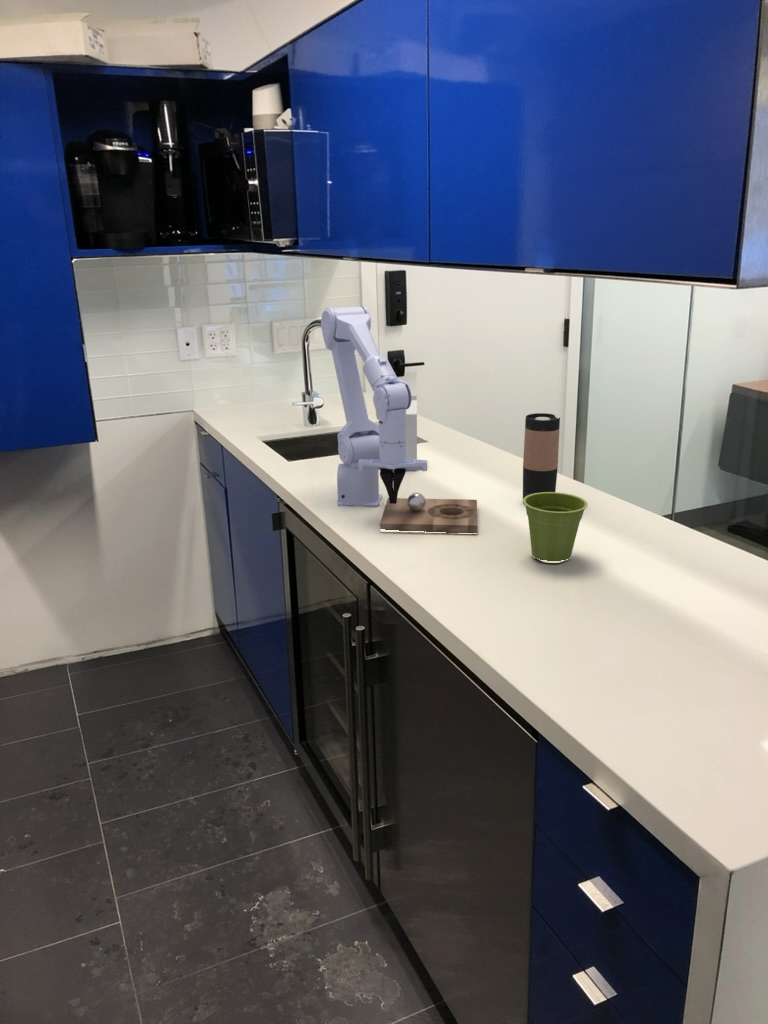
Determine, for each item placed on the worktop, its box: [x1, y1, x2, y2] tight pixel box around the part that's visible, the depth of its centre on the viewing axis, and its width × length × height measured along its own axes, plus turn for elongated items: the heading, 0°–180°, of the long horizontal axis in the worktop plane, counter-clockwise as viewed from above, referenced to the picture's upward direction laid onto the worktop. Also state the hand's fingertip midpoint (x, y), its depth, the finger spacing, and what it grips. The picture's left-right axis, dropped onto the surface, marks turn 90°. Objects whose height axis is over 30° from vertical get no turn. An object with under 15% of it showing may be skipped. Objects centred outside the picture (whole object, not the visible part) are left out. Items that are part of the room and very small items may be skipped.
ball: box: [407, 492, 426, 511], centre depth 178 cm, size 4×4×4 cm
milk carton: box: [393, 395, 418, 472], centre depth 215 cm, size 7×7×19 cm
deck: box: [379, 497, 479, 534], centre depth 179 cm, size 20×17×2 cm
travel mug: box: [522, 412, 561, 504], centre depth 186 cm, size 8×8×20 cm
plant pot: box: [522, 492, 589, 561], centre depth 156 cm, size 12×12×11 cm
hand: (393, 502), depth 178 cm, fingers closed
